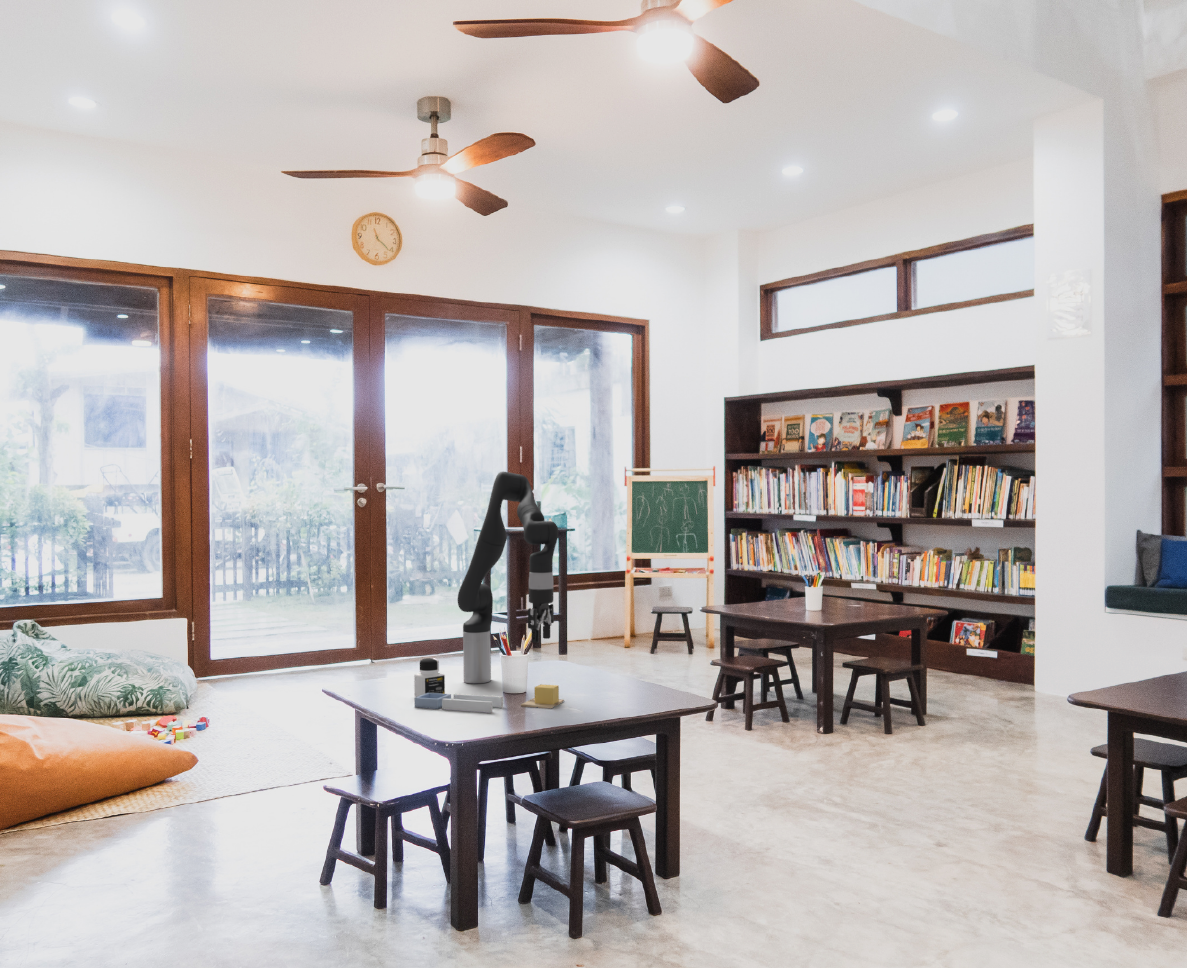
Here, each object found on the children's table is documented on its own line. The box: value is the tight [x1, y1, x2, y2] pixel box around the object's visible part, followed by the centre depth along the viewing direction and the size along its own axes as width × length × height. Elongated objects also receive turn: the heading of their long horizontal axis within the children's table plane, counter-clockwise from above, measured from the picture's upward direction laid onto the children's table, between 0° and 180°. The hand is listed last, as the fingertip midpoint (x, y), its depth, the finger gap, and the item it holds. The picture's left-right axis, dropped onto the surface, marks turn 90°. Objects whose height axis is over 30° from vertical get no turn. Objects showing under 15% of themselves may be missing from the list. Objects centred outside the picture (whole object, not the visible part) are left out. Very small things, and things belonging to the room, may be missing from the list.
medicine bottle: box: [413, 657, 446, 698], centre depth 297 cm, size 7×7×12 cm
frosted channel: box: [441, 693, 504, 714], centre depth 280 cm, size 16×8×3 cm, turn 70°
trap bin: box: [414, 693, 452, 710], centre depth 284 cm, size 8×8×3 cm
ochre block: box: [534, 683, 560, 704], centre depth 284 cm, size 4×6×5 cm
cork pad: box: [520, 697, 565, 709], centre depth 284 cm, size 10×10×1 cm
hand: (541, 640), depth 284 cm, fingers open, 8 cm apart
